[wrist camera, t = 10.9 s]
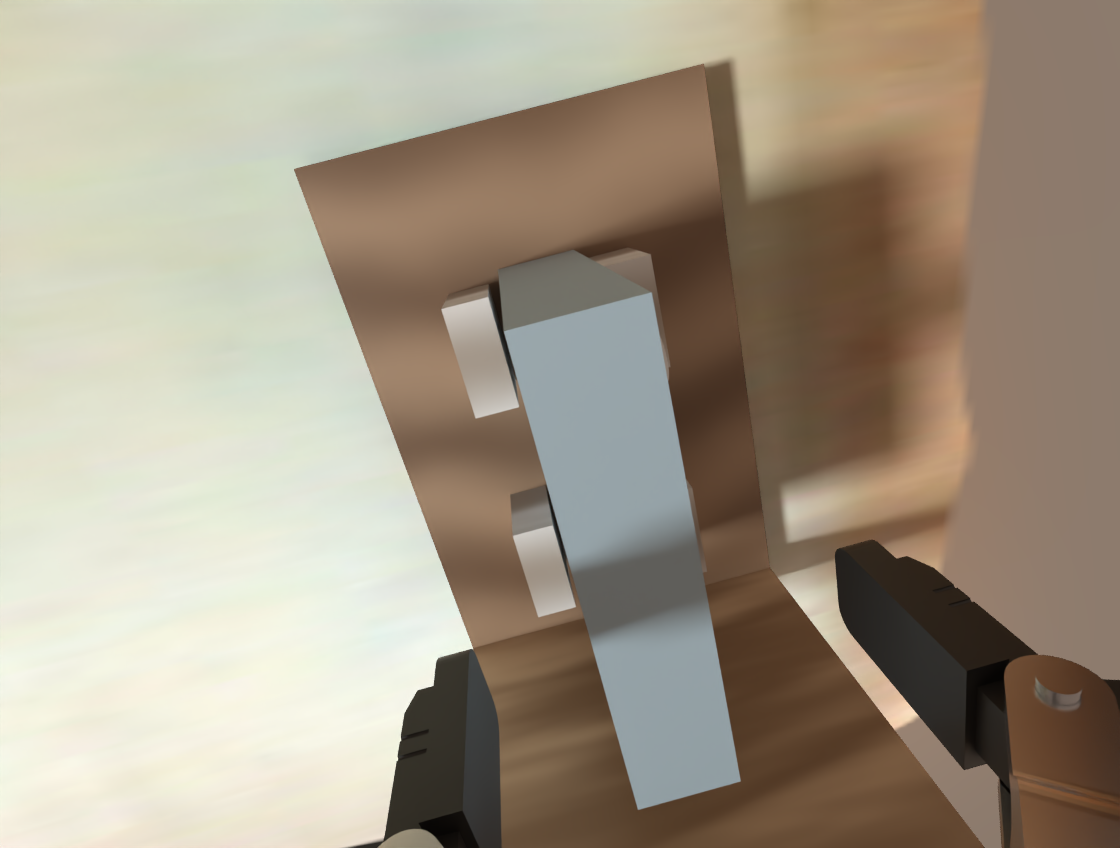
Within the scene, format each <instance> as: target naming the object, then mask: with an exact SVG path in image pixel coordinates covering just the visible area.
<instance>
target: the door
mask: <svg viewBox="0 0 1120 848" xmlns="http://www.w3.org/2000/svg"><path fill="white" fill-rule="evenodd" d="M498 275H499V285H500V296H501V307H502V317H503V328H504V334H505V337H506V341H507V345H508V348H509V352H510V355H511V359H512V362H513V366H514V369H515V373H516V377H517V380H518V384H519V387H520V391H521V394H522V398H523V402H524V405H525V409H526V412H527V416H528V419H529V423H530V427H531V430H532V434H533V437H534V441H535V444H536V448H537V452H538V455H539V459H540V462H541V466H542V469H543V473H544V476H545V480H546V484H547V487H548V491H549V494H550V498H551V501H552V505H553V509H554V512H555V516H556V519H557V523H558V526H559V530H560V534H561V537H562V541H563V544H564V548H565V551H566V555H567V558H568V562H569V566H570V569H571V573H572V576H573V580H574V583H575V587H576V591H577V594H578V598H579V601H580V605H581V608H582V612H583V616H584V619H585V623H586V626H587V630H588V633H589V637H590V641H591V644H592V648H593V651H594V655H595V658H596V662H597V665H598V669H599V673H600V676H601V680H602V683H603V687H604V690H605V694H606V698H607V701H608V705H609V708H610V712H611V715H612V719H613V723H614V726H615V730H616V733H617V737H618V740H619V744H620V747H621V751H622V755H623V758H624V762H625V765H626V769H627V772H628V776H629V780H630V783H631V787H632V790H633V794H634V797H635V801H636V805H637V808H638V810H640V809H643V808H647V807H651V806H654V805H658V804H661V803H665V802H669V801H672V800H676V799H679V798H683V797H686V796H690V795H694V794H697V793H701V792H704V791H708V790H712V789H715V788H719V787H722V786H726V785H730V784H733V783H737V782H740V781H741V780H740V774H739V769H738V763H737V758H736V752H735V747H734V741H733V736H732V730H731V725H730V719H729V714H728V708H727V703H726V697H725V692H724V686H723V681H722V675H721V670H720V664H719V659H718V653H717V648H716V642H715V637H714V631H713V626H712V620H711V615H710V609H709V604H708V598H707V593H706V587H705V582H704V576H703V571H702V565H701V560H700V554H699V549H698V543H697V538H696V533H695V527H694V522H693V516H692V511H691V505H690V500H689V494H688V489H687V483H686V478H685V472H684V467H683V461H682V456H681V450H680V445H679V439H678V434H677V428H676V423H675V417H674V412H673V406H672V401H671V395H670V390H669V384H668V380H669V368H668V361H667V357H666V352H665V349H664V345H663V342H662V339H661V337H660V335H659V329H658V324H657V318H656V313H655V307H654V302H653V296H652V292H650V291H648V290H647V289H645V288H643V287H641V286H639V285H637V284H636V283H634V282H632V281H630V280H628V279H626V278H625V277H623V276H621V275H619V274H617V273H615V272H613V271H612V270H610V269H608V268H606V267H604V266H602V265H601V264H599V263H597V262H595V261H593V260H591V259H590V258H588V257H586V256H584V255H582V254H580V253H578V252H577V251H575V250H570V251H567V252H563V253H559V254H555V255H551V256H548V257H544V258H540V259H536V260H532V261H528V262H525V263H521V264H517V265H513V266H509V267H506V268H502V269H498Z"/></svg>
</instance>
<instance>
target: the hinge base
mask: <svg viewBox="0 0 1120 848" xmlns="http://www.w3.org/2000/svg"><path fill="white" fill-rule="evenodd" d="M294 171H295V173H296V176H297V179H298V181H299V184H300V187H301V189H302V192H303V195H304V197H305V200H306V203H307V205H308V208H309V211H310V213H311V216H312V219H313V221H314V224H315V227H316V229H317V232H318V235H319V237H320V240H321V243H322V245H323V248H324V251H325V253H326V256H327V259H328V261H329V264H330V267H331V269H332V272H333V275H334V277H335V280H336V283H337V285H338V288H339V291H340V294H341V296H342V299H343V302H344V304H345V307H346V310H347V312H348V315H349V318H350V320H351V323H352V326H353V328H354V331H355V334H356V336H357V339H358V342H359V344H360V347H361V350H362V352H363V355H364V358H365V360H366V363H367V366H368V368H369V371H370V374H371V376H372V379H373V382H374V384H375V387H376V390H377V392H378V395H379V398H380V400H381V403H382V406H383V408H384V411H385V414H386V416H387V419H388V422H389V424H390V427H391V430H392V432H393V435H394V438H395V440H396V443H397V446H398V448H399V451H400V454H401V456H402V459H403V462H404V464H405V467H406V470H407V472H408V475H409V478H410V480H411V483H412V486H413V488H414V491H415V494H416V496H417V499H418V502H419V504H420V507H421V510H422V512H423V515H424V518H425V520H426V523H427V526H428V529H429V531H430V534H431V537H432V539H433V542H434V545H435V547H436V550H437V553H438V555H439V558H440V561H441V563H442V566H443V569H444V571H445V574H446V577H447V579H448V582H449V585H450V587H451V590H452V593H453V595H454V598H455V601H456V603H457V606H458V609H459V611H460V614H461V617H462V619H463V622H464V625H465V627H466V630H467V633H468V635H469V638H470V641H471V643H472V646H473V651H474V652H475V654H476V656H477V659H478V661H479V664H480V667H481V669H482V672H483V674H484V677H485V680H486V682H487V685H488V687H489V690H490V693H491V695H492V698H493V701H494V704H495V708H496V712H497V717H498V723H499V741H500V789H501V838H502V848H985V847H984V846H983V845H982V844H981V842H980V841H979V840H978V838H977V837H976V836H975V834H974V833H973V832H972V831H971V829H970V828H969V827H968V825H967V824H966V823H965V822H964V820H963V819H962V817H961V816H960V815H959V814H958V812H957V811H956V810H955V808H954V807H953V806H952V804H951V803H950V802H949V801H948V799H947V798H946V797H945V795H944V794H943V793H942V792H941V790H940V789H939V788H938V786H937V785H936V784H935V782H934V781H933V780H932V778H931V777H930V776H929V774H928V773H927V772H926V771H925V769H924V768H923V767H922V765H921V764H920V763H919V761H918V760H917V759H916V758H915V756H914V755H913V754H912V752H911V751H910V750H909V748H908V747H907V746H906V744H905V743H904V742H903V741H902V739H901V738H900V737H899V736H898V734H897V733H896V731H895V730H894V729H893V728H892V726H891V725H890V724H889V722H888V721H887V720H886V718H885V717H884V716H883V714H882V713H881V712H880V711H879V709H878V708H877V707H876V705H875V704H874V703H873V701H872V700H871V699H870V698H869V696H868V695H867V694H866V692H865V691H864V690H863V688H862V687H861V686H860V685H859V683H858V682H857V681H856V679H855V678H854V677H853V675H852V674H851V673H850V671H849V670H848V669H847V668H846V666H845V665H844V664H843V662H842V661H841V660H840V658H839V657H838V656H837V655H836V653H835V652H834V651H833V649H832V648H831V647H830V645H829V644H828V643H827V641H826V640H825V639H824V638H823V636H822V635H821V634H820V632H819V631H818V630H817V628H816V627H815V626H814V625H813V623H812V622H811V621H810V619H809V618H808V617H807V615H806V614H805V613H804V612H803V610H802V609H801V608H800V606H799V605H798V604H797V602H796V601H795V600H794V598H793V597H792V596H791V595H790V593H789V592H788V591H787V589H786V588H785V587H784V585H783V584H782V583H781V582H780V580H779V579H778V578H777V576H776V575H775V574H774V572H773V571H772V570H771V569H770V565H769V558H768V550H767V542H766V535H765V527H764V519H763V512H762V504H761V496H760V489H759V481H758V473H757V466H756V458H755V450H754V443H753V435H752V427H751V420H750V412H749V405H748V397H747V389H746V382H745V374H744V366H743V359H742V351H741V343H740V336H739V328H738V320H737V313H736V305H735V297H734V290H733V282H732V274H731V267H730V259H729V252H728V244H727V236H726V229H725V221H724V213H723V206H722V198H721V190H720V183H719V175H718V167H717V160H716V152H715V144H714V137H713V129H712V121H711V114H710V106H709V98H708V91H707V83H706V76H705V68H704V64H701V65H697V66H693V67H689V68H686V69H682V70H678V71H674V72H670V73H666V74H662V75H658V76H654V77H651V78H647V79H643V80H639V81H635V82H631V83H627V84H623V85H619V86H615V87H612V88H608V89H604V90H600V91H596V92H592V93H588V94H584V95H580V96H577V97H573V98H569V99H565V100H561V101H557V102H553V103H549V104H545V105H542V106H538V107H534V108H530V109H526V110H522V111H518V112H514V113H510V114H507V115H503V116H499V117H495V118H491V119H487V120H483V121H479V122H475V123H472V124H468V125H464V126H460V127H456V128H452V129H448V130H444V131H440V132H437V133H433V134H429V135H425V136H421V137H417V138H413V139H409V140H405V141H401V142H398V143H394V144H390V145H386V146H382V147H378V148H374V149H370V150H366V151H363V152H359V153H355V154H351V155H347V156H343V157H339V158H335V159H331V160H328V161H324V162H320V163H316V164H312V165H308V166H304V167H300V168H296V169H294ZM570 250H575V251H577V252H578V253H580V254H582V255H584V256H586V257H588V258H590V259H591V260H593V261H595V262H597V263H599V264H601V265H602V266H604V267H606V268H608V269H610V270H612V271H613V272H615V273H617V274H619V275H621V276H623V277H625V278H626V279H628V280H630V281H632V282H634V283H636V284H637V285H639V286H641V287H643V288H645V289H647V290H648V291H650V292H652V296H653V302H654V307H655V313H656V318H657V324H658V329H659V335H660V337H661V339H662V342H663V345H664V349H665V352H666V357H667V361H668V368H669V380H668V384H669V390H670V395H671V401H672V406H673V412H674V417H675V423H676V428H677V434H678V439H679V445H680V450H681V456H682V461H683V467H684V472H685V478H686V483H687V489H688V494H689V500H690V505H691V511H692V516H693V522H694V527H695V533H696V538H697V543H698V549H699V554H700V560H701V565H702V571H703V576H704V582H705V587H706V593H707V598H708V604H709V609H710V615H711V620H712V626H713V631H714V637H715V642H716V648H717V653H718V659H719V664H720V670H721V675H722V681H723V686H724V692H725V697H726V703H727V708H728V714H729V719H730V725H731V730H732V736H733V741H734V747H735V752H736V758H737V763H738V769H739V774H740V780H741V781H740V782H737V783H733V784H730V785H726V786H722V787H719V788H715V789H712V790H708V791H704V792H701V793H697V794H694V795H690V796H686V797H683V798H679V799H676V800H672V801H669V802H665V803H661V804H658V805H654V806H651V807H647V808H643V809H640V810H638V808H637V805H636V801H635V797H634V794H633V790H632V787H631V783H630V780H629V776H628V772H627V769H626V765H625V762H624V758H623V755H622V751H621V747H620V744H619V740H618V737H617V733H616V730H615V726H614V723H613V719H612V715H611V712H610V708H609V705H608V701H607V698H606V694H605V690H604V687H603V683H602V680H601V676H600V673H599V669H598V665H597V662H596V658H595V655H594V651H593V648H592V644H591V641H590V637H589V633H588V630H587V626H586V623H585V619H584V616H583V612H582V608H581V605H580V601H579V598H578V594H577V591H576V587H575V583H574V580H573V576H572V573H571V569H570V566H569V562H568V558H567V555H566V551H565V548H564V544H563V541H562V537H561V534H560V530H559V526H558V523H557V519H556V516H555V512H554V509H553V505H552V501H551V498H550V494H549V491H548V487H547V484H546V480H545V476H544V473H543V469H542V466H541V462H540V459H539V455H538V452H537V448H536V444H535V441H534V437H533V434H532V430H531V427H530V423H529V419H528V416H527V412H526V409H525V405H524V402H523V398H522V394H521V391H520V387H519V384H518V380H517V377H516V373H515V369H514V366H513V362H512V359H511V355H510V352H509V348H508V345H507V341H506V337H505V334H504V328H503V317H502V307H501V296H500V285H499V275H498V269H502V268H506V267H509V266H513V265H517V264H521V263H525V262H528V261H532V260H536V259H540V258H544V257H548V256H551V255H555V254H559V253H563V252H567V251H570Z"/></svg>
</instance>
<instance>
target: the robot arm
mask: <svg viewBox="0 0 1120 848" xmlns="http://www.w3.org/2000/svg"><path fill="white" fill-rule="evenodd" d="M835 563H836V576H837V589H838V602H839V609H840V613H841V616H842V618H843V621H844V623H845V625H846V627H847V629H848V630H849V632H850V633H851V635H852V636H853V637H854V638H855V640H856V641H857V642H858V643H859V644H860V646H861V647H862V648H863V649H864V650H865V652H866V653H867V654H868V655H869V656H870V658H871V659H872V660H873V661H874V662H875V664H876V665H877V666H878V667H879V668H880V670H881V671H882V672H883V673H884V674H885V676H886V677H887V678H888V679H889V680H890V682H891V683H892V684H893V685H894V686H895V688H896V689H897V690H898V691H899V692H900V694H901V695H902V696H903V697H904V699H905V700H906V701H907V702H908V703H909V705H910V706H911V707H912V708H913V709H914V711H915V712H916V713H917V714H918V715H919V717H920V718H921V719H922V720H923V721H924V723H925V724H926V725H927V726H928V727H929V728H930V730H931V731H932V732H933V733H934V735H935V736H936V737H937V738H938V739H939V740H940V742H941V743H942V744H943V745H944V747H945V748H946V749H947V750H948V751H949V753H950V754H951V755H952V756H953V757H954V759H955V760H956V761H957V762H958V763H959V765H960V766H961V767H962V768H963V769H964V770H966V769H970V768H973V767H977V766H980V765H984V764H988V765H989V767H990V768H991V769H992V770H993V771H994V772H995V773H996V775H997V776H998V798H999V799H998V800H999V815H1000V828H1001V829H1000V830H1001V844H1002V848H1120V680H1104V679H1101V678H1100V677H1099V676H1098V675H1097V674H1095V673H1093V672H1092V671H1090V670H1089V669H1087V668H1085V667H1083V666H1081V665H1079V664H1077V663H1074V662H1072V661H1069V660H1066V659H1063V658H1059V657H1054V656H1048V655H1038V654H1036V653H1035V652H1034V651H1033V650H1032V649H1031V648H1029V647H1028V646H1027V645H1026V644H1025V643H1023V642H1022V641H1021V640H1020V639H1019V638H1017V637H1016V636H1015V635H1014V634H1013V633H1011V632H1010V631H1009V630H1008V629H1007V628H1005V627H1004V626H1003V625H1002V624H1001V623H999V622H998V621H997V620H996V619H995V618H993V617H992V616H991V615H989V614H988V613H987V612H986V611H985V610H984V609H982V608H981V607H980V606H979V605H978V604H976V603H975V602H971V600H970V598H969V597H968V596H967V595H965V594H964V593H963V592H962V591H961V590H960V589H958V588H955V587H954V585H953V584H952V583H951V582H950V581H949V580H947V579H946V578H945V577H944V576H943V575H942V574H940V573H939V572H938V571H937V570H936V569H934V568H933V567H930V566H928V565H926V564H924V563H921V562H919V561H917V560H915V559H912V558H910V557H908V556H906V557H902V558H898V559H896V558H895V557H894V556H893V555H892V554H891V553H889V552H888V551H887V550H886V549H885V548H884V547H883V546H881V545H880V544H879V543H878V542H876V541H875V540H868V541H865V542H861V543H857V544H854V545H850V546H846V547H843V548H839V549H837V550H836V553H835ZM378 848H502V838H501V789H500V741H499V723H498V717H497V712H496V708H495V704H494V701H493V698H492V695H491V693H490V690H489V687H488V685H487V682H486V680H485V677H484V674H483V672H482V669H481V667H480V664H479V661H478V659H477V656H476V654H475V652H474V651H473V650H472V649H470V650H466V651H462V652H459V653H455V654H452V655H448V656H444V657H441V658H438V660H437V662H436V669H435V678H434V686H432V687H429V688H425V689H421V690H418V691H417V692H416V694H415V696H414V698H413V700H412V701H411V703H410V705H409V707H408V708H407V710H406V712H405V714H404V720H403V726H402V733H401V741H400V745H399V751H398V761H397V763H396V770H395V776H394V782H393V788H392V794H391V800H390V807H389V813H388V819H387V825H386V831H385V836H384V841H383V843H382V844H381V845H380V846H379V847H378Z"/></svg>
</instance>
